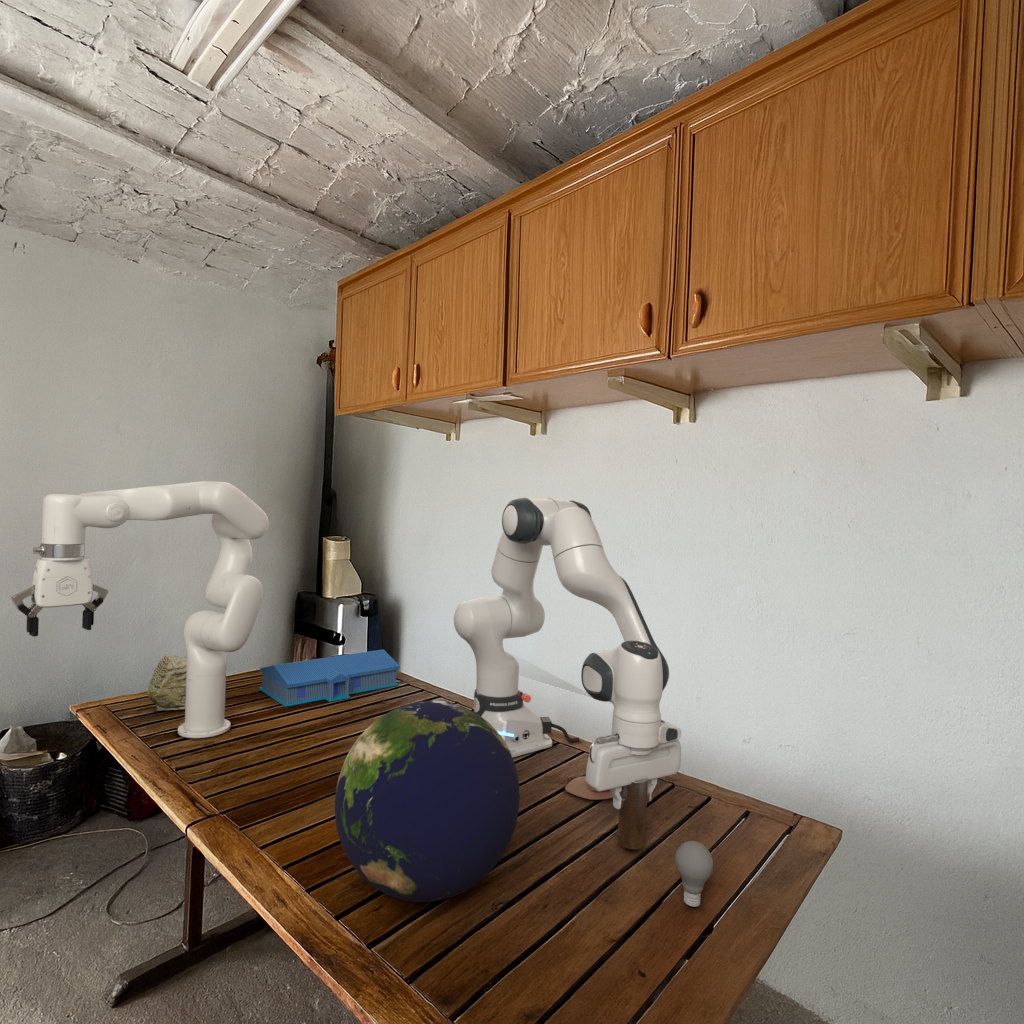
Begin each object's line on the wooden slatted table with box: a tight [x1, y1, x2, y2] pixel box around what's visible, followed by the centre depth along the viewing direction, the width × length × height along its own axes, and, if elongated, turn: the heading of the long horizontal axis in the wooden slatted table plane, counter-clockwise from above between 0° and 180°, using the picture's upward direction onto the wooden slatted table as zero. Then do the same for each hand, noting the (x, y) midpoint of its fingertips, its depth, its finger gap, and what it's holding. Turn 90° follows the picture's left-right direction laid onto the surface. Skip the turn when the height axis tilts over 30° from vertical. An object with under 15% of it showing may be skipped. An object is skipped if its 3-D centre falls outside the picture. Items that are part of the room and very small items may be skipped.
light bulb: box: [674, 840, 714, 907], centre depth 103 cm, size 6×6×10 cm
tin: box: [617, 778, 648, 851], centre depth 118 cm, size 5×5×12 cm
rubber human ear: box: [564, 775, 620, 801], centre depth 143 cm, size 13×4×12 cm
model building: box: [258, 649, 401, 707], centre depth 208 cm, size 39×24×10 cm, turn 132°
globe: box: [334, 700, 521, 903], centre depth 104 cm, size 30×30×30 cm
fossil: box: [147, 654, 187, 712], centre depth 185 cm, size 9×18×15 cm, turn 132°
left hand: (60, 632), depth 135 cm, fingers open, 9 cm apart
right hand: (632, 804), depth 118 cm, fingers closed on tin, 5 cm apart
